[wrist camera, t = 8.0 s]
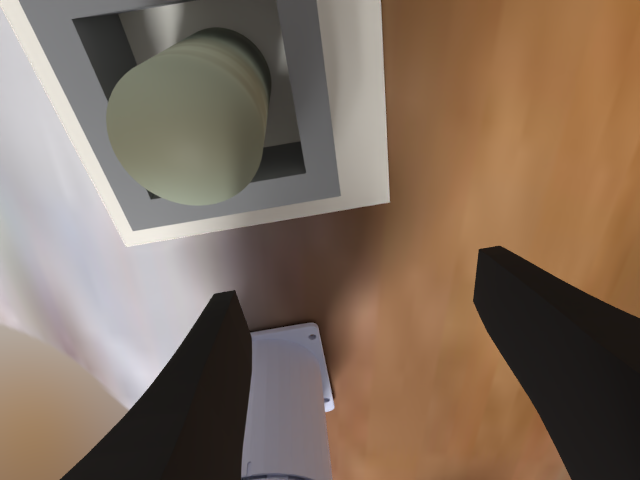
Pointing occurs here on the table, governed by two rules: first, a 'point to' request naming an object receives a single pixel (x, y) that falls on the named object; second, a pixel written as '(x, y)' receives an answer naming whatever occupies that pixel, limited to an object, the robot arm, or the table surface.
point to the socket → (283, 115)
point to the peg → (193, 118)
